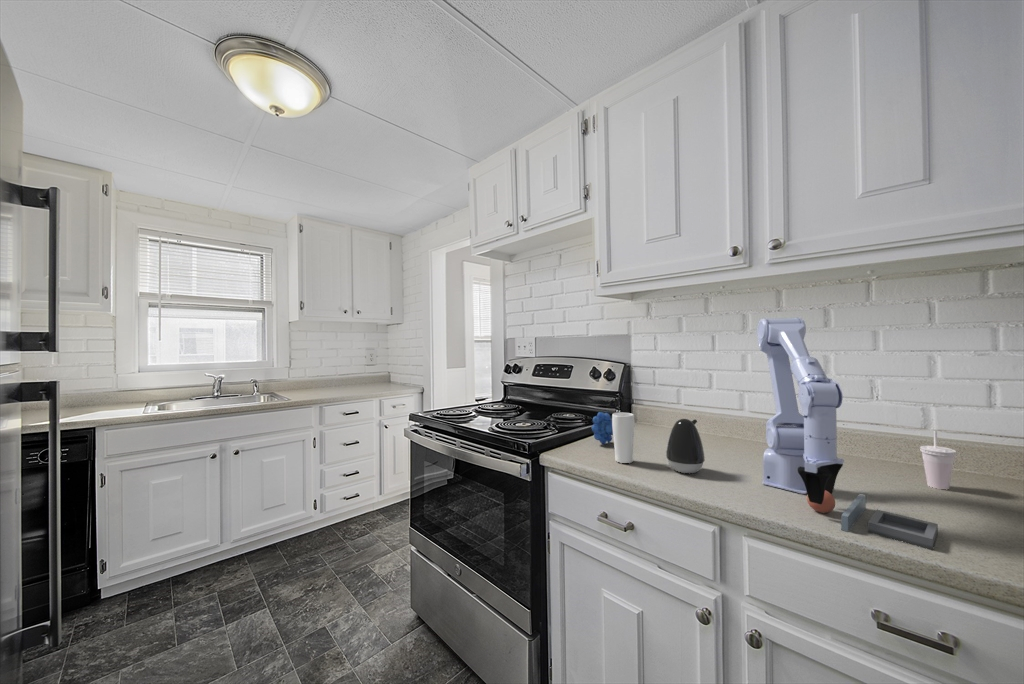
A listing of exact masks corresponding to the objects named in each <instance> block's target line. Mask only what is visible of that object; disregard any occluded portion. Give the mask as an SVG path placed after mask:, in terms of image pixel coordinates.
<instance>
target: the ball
mask: <svg viewBox="0 0 1024 684" xmlns="http://www.w3.org/2000/svg"><path fill="white" fill-rule="evenodd" d="M806 502H807V504H808V505H809V507H810V508H811V509H813V510H814V511H816V512H817V513H818V512H819V513H822V514H824V513H825V514H826V513H830V512H832V511H833V510H834V509H835V507H836V500H835V496H833V493H832V494H831V493H829V492H828V491H826V490H825V493H824V499H823V502H822V504H817V503H813V502H810V501H809V498H808V494H807V493H806Z"/></svg>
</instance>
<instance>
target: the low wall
mask: <svg viewBox="0 0 1024 684" xmlns="http://www.w3.org/2000/svg"><path fill="white" fill-rule="evenodd" d="M866 502H867V501H866V494H861V493H859V494H858V496H857V497H856V498H855V499H854V500H853V501H852V502H851V503H850V504H849V506H848V507H847V508H846V509H845V510H844V511H843V513H842V514H841V515H840V516H841V520H840V522H841V526H840V527H841V531H844V532H847V533H848V532H849V531H850V530H851V529H852V527H853V526H854V524H855V523H856V522H857V521H858V519H859V518H860V517H861V515H862V514H863V513H864V512H865V510H866V509H867V508H866V506H867V505H866ZM863 511H864V512H863Z"/></svg>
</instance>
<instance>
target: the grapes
mask: <svg viewBox="0 0 1024 684" xmlns="http://www.w3.org/2000/svg"><path fill="white" fill-rule="evenodd" d="M592 423H593V424H592V425H591V431H592V433H593V437H594V439H595V440H597V441H599V442H600V443H601V445H605V444H606V443H607V442H608V443H610V442H611V441H613V430H612V418H611V415H610V413H608V412H605V413H604V412H602V411H598V413H597V415H595V416H593V418H592Z"/></svg>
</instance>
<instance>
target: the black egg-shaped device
mask: <svg viewBox="0 0 1024 684" xmlns="http://www.w3.org/2000/svg"><path fill="white" fill-rule="evenodd" d="M697 423H698V420H697V419H692V420H690V419H688V418H680V419H677V421H675V423H674V424H673V427H672V428H671V431H670V434H669V438H668V442H667V446H666V452H665V453H666V455H665V456H666V459H667V461H668V464H669V466H670V467H671V468H672V469H673V470H674V471H676V472H677V471H678V472H677V473H680V472H681V474H685V473H689V474H688V475H690V473H692V474H696V473H698V472H699V471H700V470H701V469H702V467H703V466H704V462H705V460H706V459H705V458H706V457H705V451H704V446H703V442H702V439H701V436H700V433H699V430H698V428H697V427H696V424H697Z"/></svg>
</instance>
